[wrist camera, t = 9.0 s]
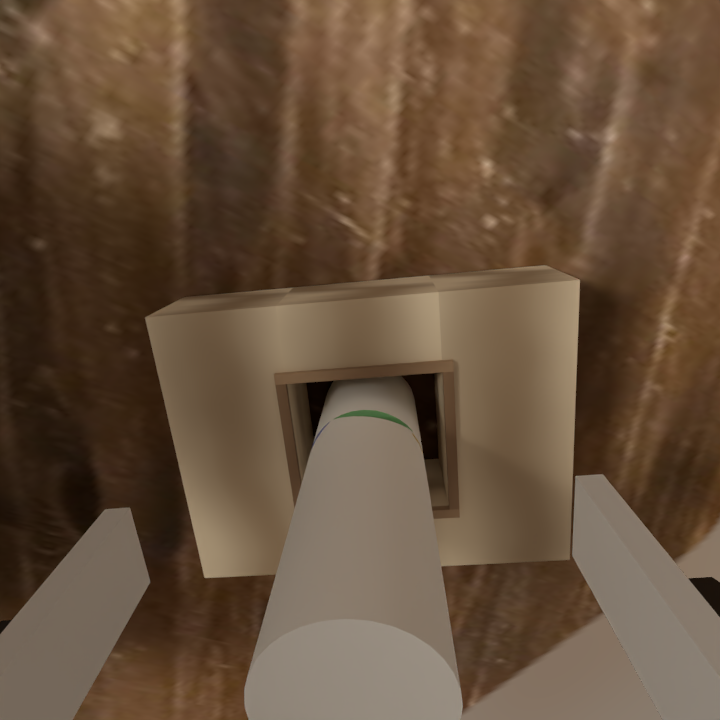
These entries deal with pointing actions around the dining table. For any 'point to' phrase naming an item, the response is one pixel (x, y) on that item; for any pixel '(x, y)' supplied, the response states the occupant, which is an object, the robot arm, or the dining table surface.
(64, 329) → the dining table surface
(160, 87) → the dining table surface
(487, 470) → the socket board
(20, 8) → the dining table surface
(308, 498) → the tube
